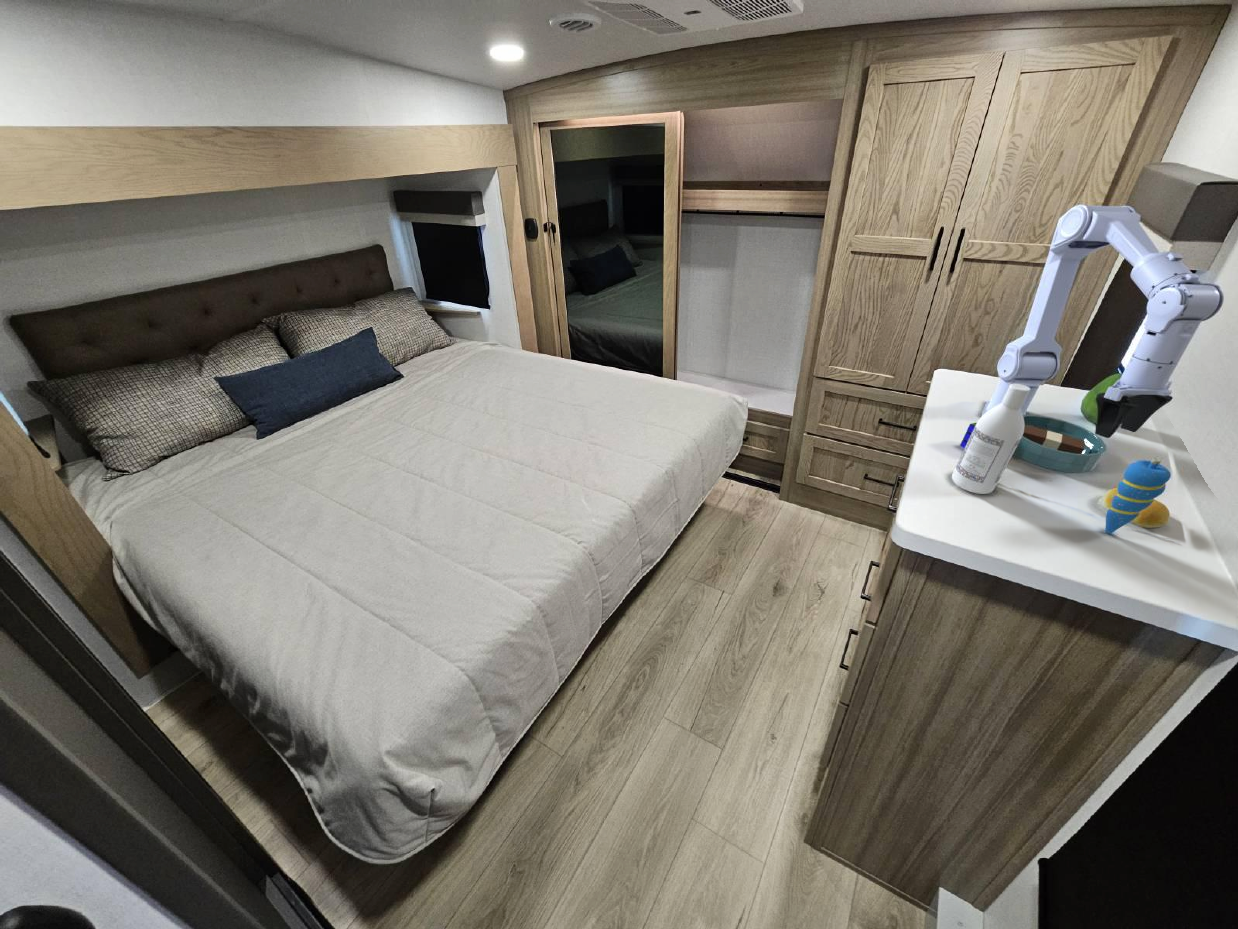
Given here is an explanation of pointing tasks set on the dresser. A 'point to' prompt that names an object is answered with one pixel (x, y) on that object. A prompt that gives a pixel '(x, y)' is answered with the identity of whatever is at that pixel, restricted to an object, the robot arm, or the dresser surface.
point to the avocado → (1089, 400)
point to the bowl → (1055, 457)
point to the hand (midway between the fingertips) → (1115, 432)
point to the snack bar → (1054, 440)
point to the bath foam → (992, 443)
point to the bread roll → (1148, 517)
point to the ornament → (1136, 492)
